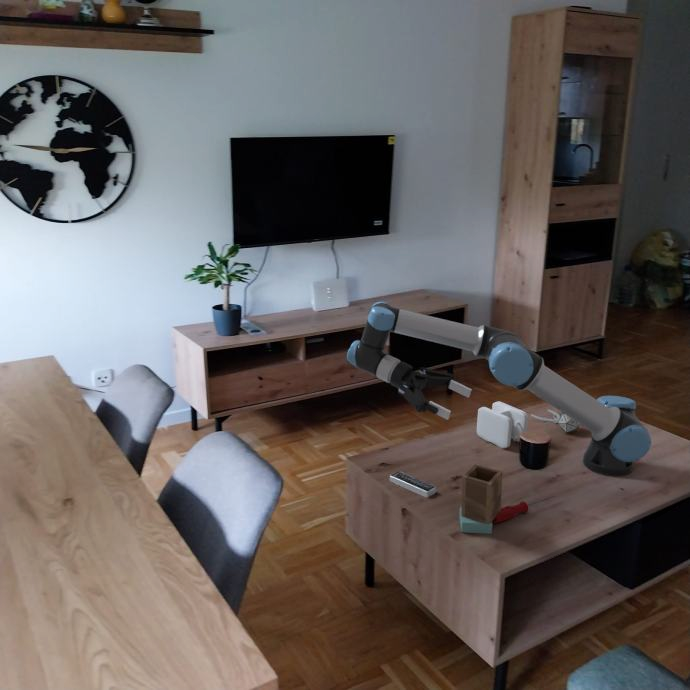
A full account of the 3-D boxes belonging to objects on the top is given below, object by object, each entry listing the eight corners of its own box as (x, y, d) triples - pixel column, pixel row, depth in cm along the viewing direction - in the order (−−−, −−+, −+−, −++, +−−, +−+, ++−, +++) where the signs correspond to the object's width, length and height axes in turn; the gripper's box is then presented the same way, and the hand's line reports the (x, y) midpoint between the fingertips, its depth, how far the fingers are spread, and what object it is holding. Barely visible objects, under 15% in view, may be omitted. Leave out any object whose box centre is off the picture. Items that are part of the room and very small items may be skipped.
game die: (572, 442, 252) (588, 428, 245) (550, 434, 252) (566, 420, 244) (572, 422, 258) (587, 408, 251) (551, 414, 257) (566, 400, 250)
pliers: (549, 407, 271) (580, 420, 259) (548, 410, 271) (579, 424, 259) (530, 412, 266) (561, 426, 254) (530, 416, 266) (560, 430, 254)
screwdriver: (561, 503, 206) (562, 492, 205) (496, 526, 193) (497, 515, 192) (552, 497, 209) (553, 487, 208) (487, 520, 196) (488, 509, 195)
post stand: (488, 517, 197) (490, 489, 195) (491, 533, 190) (494, 504, 187) (459, 516, 198) (461, 487, 195) (461, 532, 190) (463, 502, 188)
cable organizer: (473, 436, 248) (476, 405, 245) (494, 428, 254) (497, 398, 251) (506, 451, 237) (509, 419, 233) (527, 443, 243) (530, 412, 239)
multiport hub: (427, 499, 208) (427, 492, 207) (389, 482, 217) (389, 475, 216) (436, 493, 211) (436, 486, 210) (398, 477, 220) (398, 470, 219)
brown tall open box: (473, 502, 199) (474, 464, 195) (500, 510, 194) (502, 471, 191) (461, 516, 193) (462, 476, 189) (488, 524, 188) (490, 484, 184)
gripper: (413, 365, 218) (475, 395, 210) (371, 401, 200) (437, 436, 191) (418, 345, 214) (481, 374, 206) (375, 380, 196) (443, 414, 187)
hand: (460, 404), depth 198 cm, fingers open, 13 cm apart
